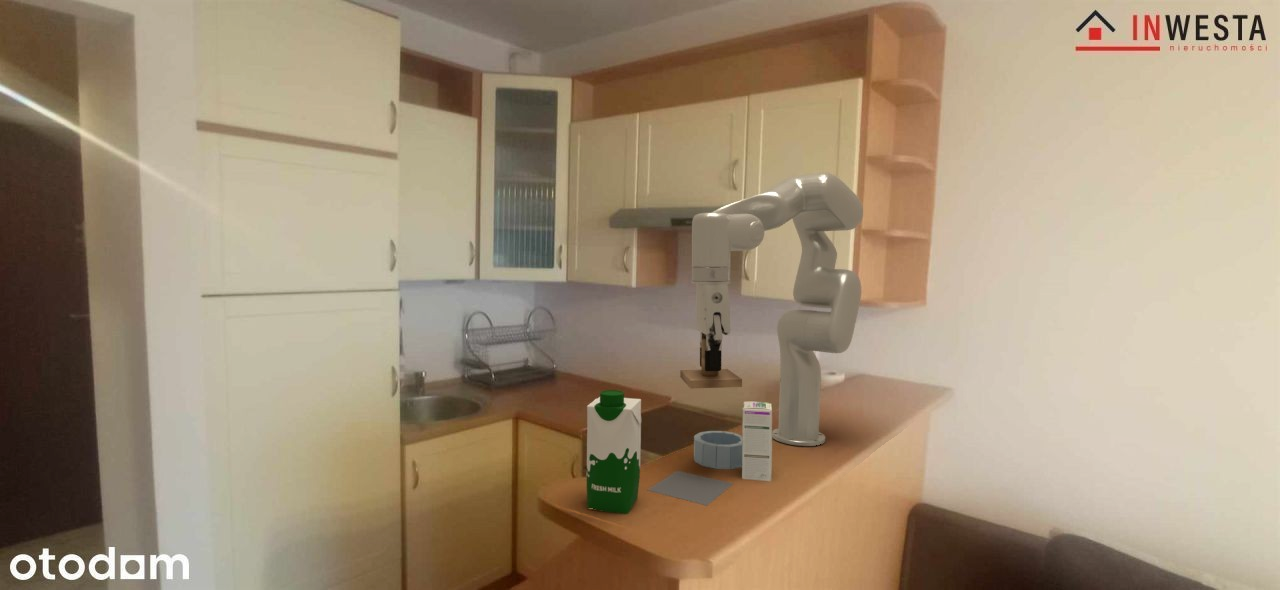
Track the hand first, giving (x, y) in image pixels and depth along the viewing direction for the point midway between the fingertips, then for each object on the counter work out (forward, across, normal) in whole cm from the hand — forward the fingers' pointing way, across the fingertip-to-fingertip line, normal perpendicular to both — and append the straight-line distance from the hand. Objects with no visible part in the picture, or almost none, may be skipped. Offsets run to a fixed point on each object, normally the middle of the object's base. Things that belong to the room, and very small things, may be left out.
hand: (710, 367), depth 111 cm
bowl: (+22, +7, -4) cm, 23 cm away
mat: (+21, -8, +5) cm, 23 cm away
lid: (+3, 0, 0) cm, 3 cm away
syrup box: (+22, -2, -9) cm, 24 cm away
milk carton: (+21, -14, +20) cm, 32 cm away
